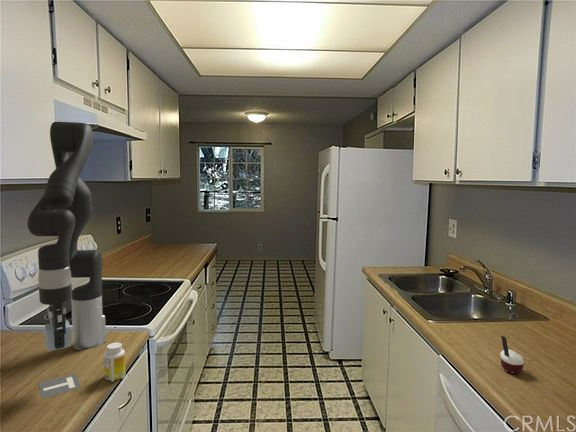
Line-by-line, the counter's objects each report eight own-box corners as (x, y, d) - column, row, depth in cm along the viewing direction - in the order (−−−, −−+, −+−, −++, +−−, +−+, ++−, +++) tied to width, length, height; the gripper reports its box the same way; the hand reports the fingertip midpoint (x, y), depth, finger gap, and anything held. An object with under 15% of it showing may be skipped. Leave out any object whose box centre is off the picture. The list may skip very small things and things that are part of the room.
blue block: (45, 343, 104) (44, 324, 103) (68, 338, 107) (67, 320, 106) (47, 351, 99) (46, 331, 99) (71, 346, 103) (70, 326, 102)
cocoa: (518, 367, 123) (522, 332, 122) (530, 377, 117) (535, 339, 116) (489, 365, 123) (493, 330, 122) (499, 375, 117) (504, 337, 116)
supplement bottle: (128, 373, 113) (127, 340, 112) (121, 384, 107) (121, 349, 106) (108, 374, 112) (107, 341, 111) (101, 384, 107) (100, 350, 106)
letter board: (39, 385, 105) (39, 383, 105) (75, 376, 111) (75, 373, 111) (42, 401, 98) (41, 398, 98) (81, 390, 103) (80, 387, 103)
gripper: (75, 288, 98) (78, 350, 100) (67, 274, 109) (70, 330, 111) (41, 293, 93) (44, 358, 95) (36, 278, 104) (39, 336, 107)
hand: (58, 342), depth 103 cm, fingers closed on blue block, 5 cm apart
